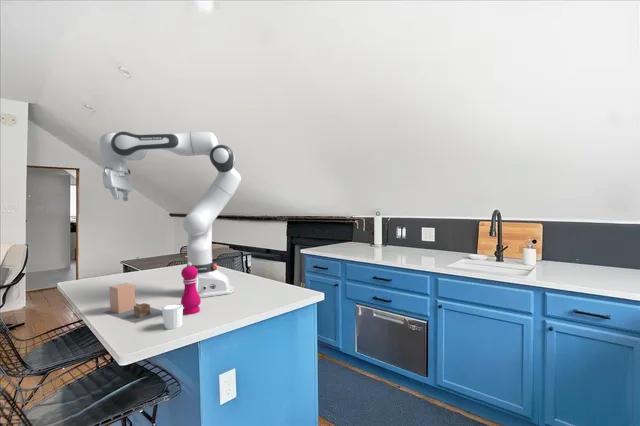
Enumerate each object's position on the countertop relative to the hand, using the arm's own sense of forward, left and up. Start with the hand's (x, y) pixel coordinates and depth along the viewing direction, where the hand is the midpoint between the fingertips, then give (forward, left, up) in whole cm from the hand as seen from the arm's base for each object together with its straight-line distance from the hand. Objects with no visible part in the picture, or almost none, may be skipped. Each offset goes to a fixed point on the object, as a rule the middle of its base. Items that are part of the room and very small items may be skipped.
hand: (121, 200), depth 149 cm
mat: (-10, +22, -45) cm, 51 cm away
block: (-14, +27, -45) cm, 54 cm away
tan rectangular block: (-4, +17, -45) cm, 48 cm away
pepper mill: (-32, +28, -45) cm, 62 cm away
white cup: (-28, +41, -45) cm, 67 cm away
